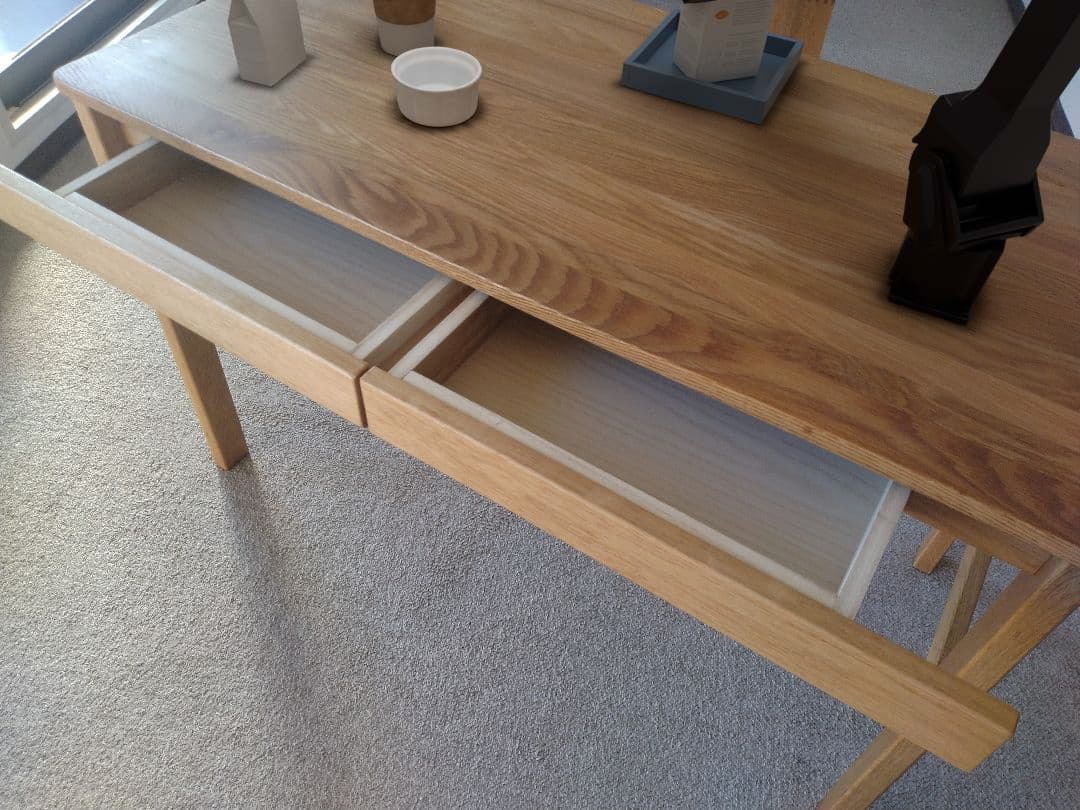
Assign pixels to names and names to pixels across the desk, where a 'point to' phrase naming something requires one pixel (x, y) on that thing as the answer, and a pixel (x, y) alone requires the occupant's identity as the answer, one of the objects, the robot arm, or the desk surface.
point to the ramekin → (436, 85)
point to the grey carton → (266, 39)
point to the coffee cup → (405, 24)
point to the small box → (722, 38)
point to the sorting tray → (731, 97)
